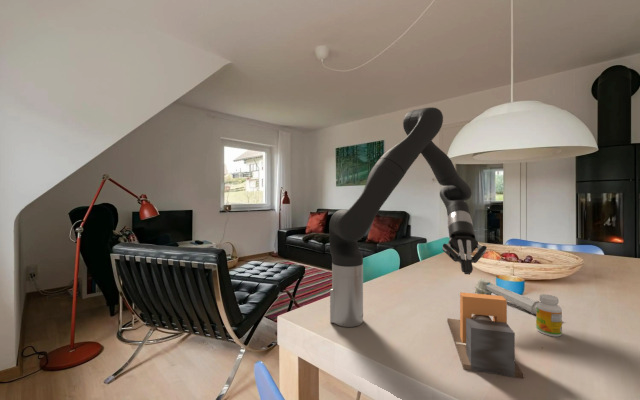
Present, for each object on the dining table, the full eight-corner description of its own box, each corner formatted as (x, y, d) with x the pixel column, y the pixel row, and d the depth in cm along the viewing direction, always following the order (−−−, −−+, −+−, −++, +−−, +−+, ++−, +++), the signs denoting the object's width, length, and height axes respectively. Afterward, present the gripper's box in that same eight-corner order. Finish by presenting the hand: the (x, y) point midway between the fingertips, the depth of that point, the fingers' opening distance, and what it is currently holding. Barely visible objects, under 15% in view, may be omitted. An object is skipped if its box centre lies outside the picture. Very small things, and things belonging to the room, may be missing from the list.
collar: (462, 343, 65) (462, 296, 65) (460, 337, 68) (460, 292, 68) (506, 349, 63) (506, 300, 63) (502, 342, 66) (502, 296, 66)
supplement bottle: (531, 327, 79) (531, 293, 79) (550, 327, 78) (551, 293, 78) (546, 337, 73) (546, 300, 73) (567, 337, 73) (567, 300, 73)
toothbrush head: (542, 307, 83) (472, 275, 107) (539, 328, 84) (470, 291, 108) (554, 305, 85) (482, 273, 109) (551, 325, 86) (480, 290, 109)
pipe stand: (463, 368, 60) (463, 325, 60) (447, 321, 82) (447, 290, 82) (523, 378, 56) (523, 332, 56) (489, 326, 79) (489, 294, 79)
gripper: (440, 219, 93) (444, 264, 81) (484, 220, 89) (496, 267, 77) (438, 233, 98) (442, 277, 86) (480, 235, 94) (490, 281, 82)
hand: (467, 273), depth 82 cm, fingers closed
